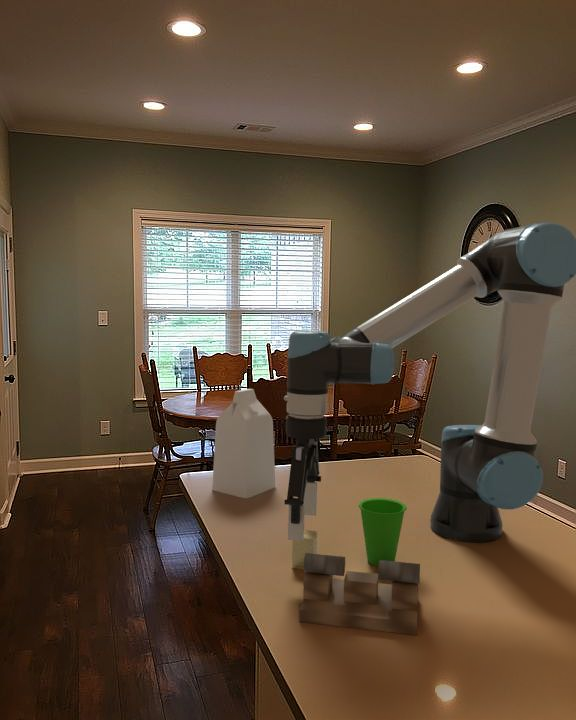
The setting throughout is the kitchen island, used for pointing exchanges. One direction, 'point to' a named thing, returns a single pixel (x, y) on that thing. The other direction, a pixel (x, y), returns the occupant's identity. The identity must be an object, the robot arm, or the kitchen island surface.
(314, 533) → the wooden block
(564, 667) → the kitchen island surface
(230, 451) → the milk
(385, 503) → the cup
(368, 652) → the kitchen island surface
